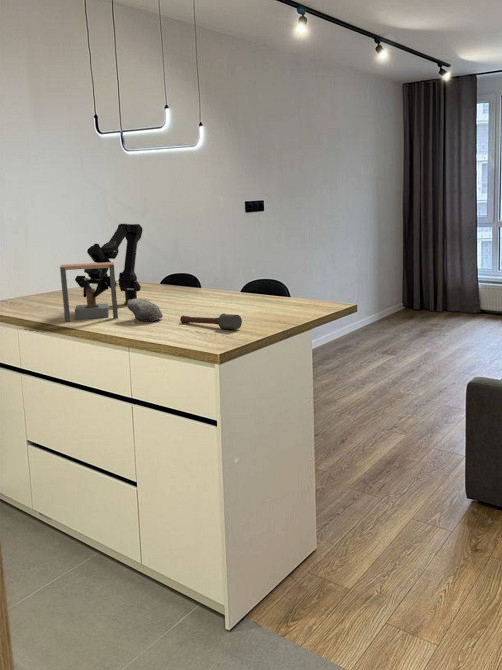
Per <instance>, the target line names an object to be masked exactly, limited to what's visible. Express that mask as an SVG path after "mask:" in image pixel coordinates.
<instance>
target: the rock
mask: <svg viewBox="0 0 502 670" xmlns="http://www.w3.org/2000/svg"><path fill="white" fill-rule="evenodd" d="M126 307H127V308H128V310H129V311H131V312H132V314H133V315H134V319H136V320H137V321H138V322H150V323H152V322H154V321H157V320H158V321H159V320H160V319H163V317H164V314H163V312H162V310H161V309H160V307H159V306H158V305H157V304H156V303H153V302H152V301H151V300H149V299H147V298H137V299H131V300H128V302H127V304H126Z"/></svg>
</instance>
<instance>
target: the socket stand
mask: <svg viewBox="0 0 502 670" xmlns="http://www.w3.org/2000/svg"><path fill="white" fill-rule="evenodd" d="M95 268H109V269H108V271H109V276H110V283H111V288H110V295H111V305H112V306H111V307H112V318H113V320H114V319H116V320H117V319H119V313H118V312H119V311H118V301H117V285H115V281H116V277H115V276H116V275H115V274H116V273H115V262H114V261H111V262H106V263H96V262H88V263H86V262H85V263H72V264H71V263H69V264H68V263H67V264H66V263H65V264H61V265H60V266H59V269H60V283H61V291H62V302H63V303H62V304H63V312H64V322H65V323H71V313H70V303H69V294H68V293H69V292H68V282H67V281H68V279H67V271H71V270H72V271H74V270H75V271H76V270H84V269H95ZM109 311H110V309H109V303H96V307H94V308H87V304H79V305H75V309H74V315H75V316H74V317H75V320H85V319H87V320H88V319H101V318H109V313H110V312H109Z"/></svg>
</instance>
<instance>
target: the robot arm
mask: <svg viewBox="0 0 502 670" xmlns="http://www.w3.org/2000/svg"><path fill="white" fill-rule="evenodd" d="M143 230H144V229H143V227H142V226H141V224H139V223H136V224H135V223H132V224H131V223H119V224H118V226H117V228H116V230H115V231H114V233H113V234H112V237H110V240H108V241H107V242H105V243H104V244H103V245H102V246H100V244H99V243H94V244H93V245H91V246H90V247H89V248H87V252H86V253H87V254H88V256H89V257H90V259H91V260H92V261H93V263H106V262H112V261H111V260H115V259H116V258H117V256H118V254H119V252H120V251H119V247H120V245H121V244H122V242H123V241H124V239H125V240H126V247H125V257H124V265H123V270H122V272H119V275H118V283H117V280H115V285H116V286H117V285H118V286H119V291H120V292H124V298H125V300H124V305H127V302H128V300H131V299H138V295H137V292H140V291H141V285H140V283H139V281H138V277H137V274H136V272H135V267H136V266H135V265H136V258H137V248H138V242H139V241H140V240H141V239H142V235H143ZM108 271H109V268H95V269H83V272H84V273H86V274H87V277H86V275H76V277H75V279H74V281H75V283H77V285H79V286H78V287H80V288H83V294H82V296H83V298H87V296H86V289H93V287H92V286H91V284H92V285H97V286H96V288H95V293H94V296H93V297H94V298H97V297H98V296H100V295H101V294H103V292H105V291H107V290H109V289H111V283H110V275H109V274H108ZM88 277H89V278H88Z"/></svg>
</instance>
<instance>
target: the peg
mask: <svg viewBox="0 0 502 670" xmlns="http://www.w3.org/2000/svg"><path fill="white" fill-rule="evenodd" d="M95 290H96V288H92V289H86V305H87V308H94V307H96V304H97V300H96V298H97V297H96V298H94V297H93V296H94V293H95Z"/></svg>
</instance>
